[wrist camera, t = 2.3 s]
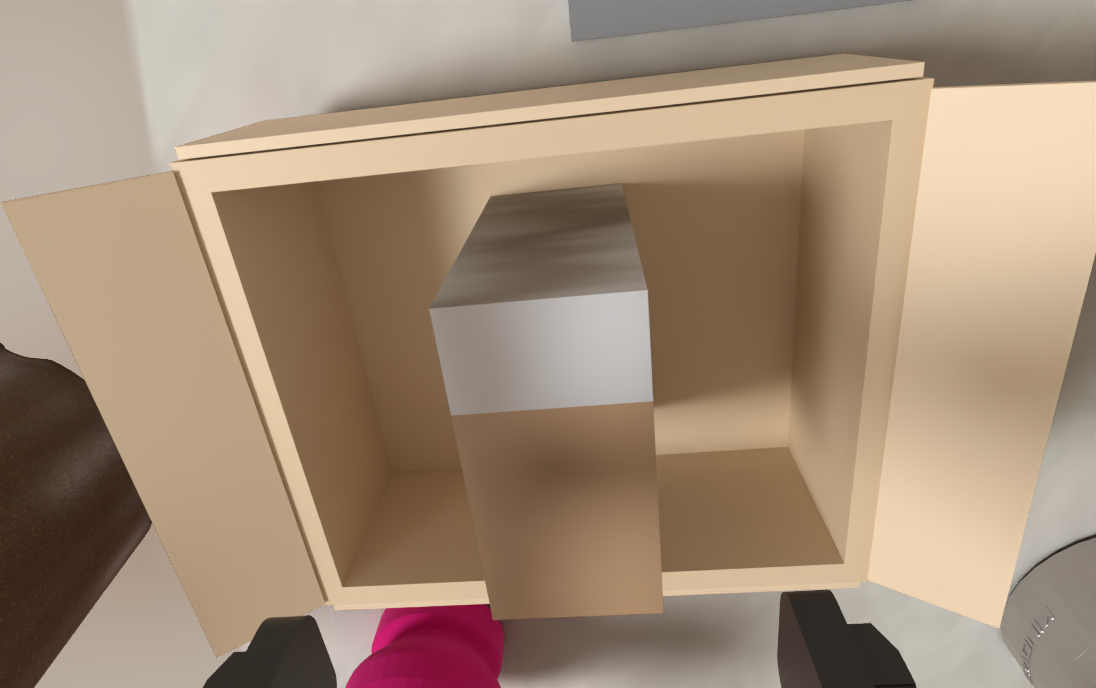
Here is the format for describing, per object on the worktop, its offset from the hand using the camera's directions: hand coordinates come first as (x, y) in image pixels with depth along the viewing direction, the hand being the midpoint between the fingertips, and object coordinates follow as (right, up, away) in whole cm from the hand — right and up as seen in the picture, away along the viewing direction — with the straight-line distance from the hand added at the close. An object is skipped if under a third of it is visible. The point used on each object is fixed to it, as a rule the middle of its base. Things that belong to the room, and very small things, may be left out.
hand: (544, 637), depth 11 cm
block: (+1, +6, +13) cm, 15 cm away
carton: (+1, +7, +14) cm, 15 cm away
